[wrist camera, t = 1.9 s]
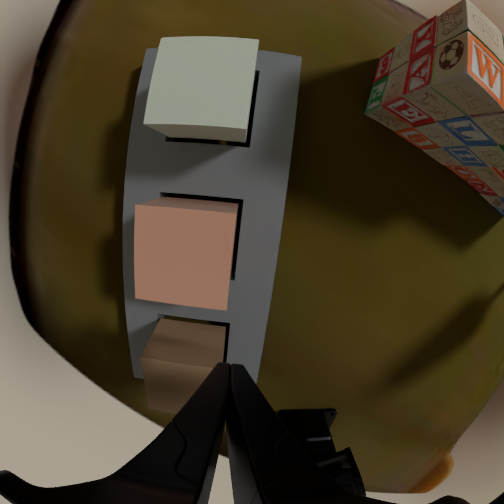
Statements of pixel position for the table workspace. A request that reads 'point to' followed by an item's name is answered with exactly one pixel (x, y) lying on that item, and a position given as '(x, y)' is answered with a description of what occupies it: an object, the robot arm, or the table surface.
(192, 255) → the salmon pink cube
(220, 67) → the pale green cube
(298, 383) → the table surface
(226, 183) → the key board
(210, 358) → the walnut key
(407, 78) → the stack of blocks
